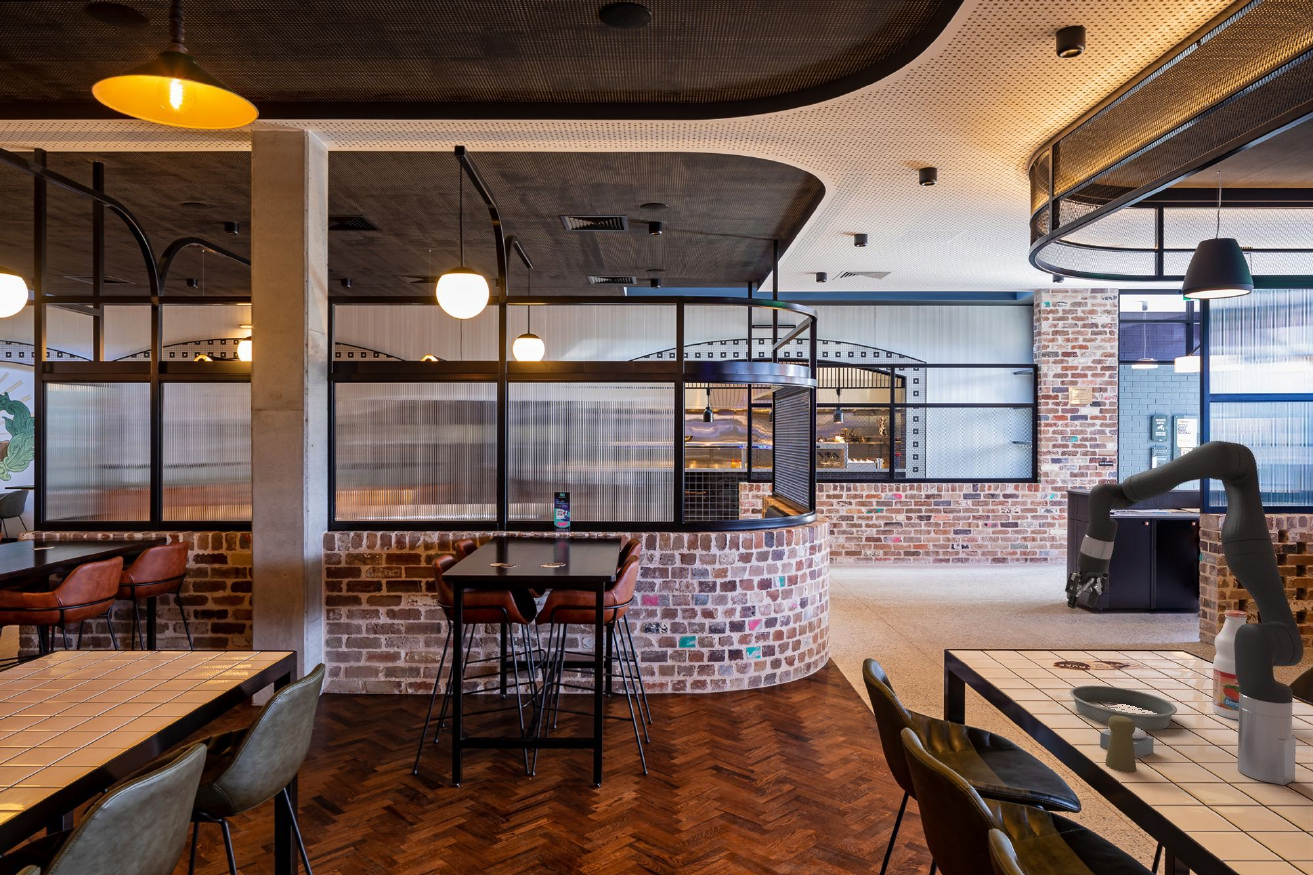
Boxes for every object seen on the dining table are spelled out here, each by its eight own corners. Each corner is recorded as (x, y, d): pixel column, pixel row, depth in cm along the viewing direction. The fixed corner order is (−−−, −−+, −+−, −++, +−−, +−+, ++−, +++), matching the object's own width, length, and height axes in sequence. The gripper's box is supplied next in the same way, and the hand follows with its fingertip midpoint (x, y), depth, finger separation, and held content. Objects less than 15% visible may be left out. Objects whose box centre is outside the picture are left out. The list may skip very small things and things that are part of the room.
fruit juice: (1237, 709, 212) (1239, 608, 212) (1265, 721, 202) (1267, 616, 203) (1203, 708, 212) (1206, 607, 212) (1229, 721, 202) (1231, 615, 203)
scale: (1153, 752, 179) (1153, 732, 179) (1134, 759, 175) (1135, 739, 175) (1117, 740, 186) (1118, 721, 186) (1099, 747, 182) (1099, 727, 182)
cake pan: (1176, 713, 208) (1177, 696, 208) (1176, 740, 188) (1177, 722, 188) (1074, 694, 222) (1074, 678, 222) (1064, 718, 202) (1064, 701, 202)
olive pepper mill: (1107, 758, 175) (1108, 710, 175) (1138, 766, 171) (1139, 717, 171) (1102, 766, 170) (1103, 717, 170) (1134, 775, 166) (1135, 724, 167)
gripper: (1090, 559, 206) (1076, 614, 210) (1124, 556, 212) (1110, 610, 216) (1066, 548, 213) (1052, 602, 217) (1100, 546, 219) (1086, 598, 223)
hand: (1081, 606), depth 216 cm, fingers open, 8 cm apart
